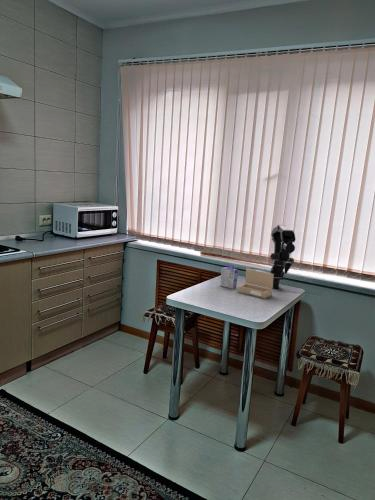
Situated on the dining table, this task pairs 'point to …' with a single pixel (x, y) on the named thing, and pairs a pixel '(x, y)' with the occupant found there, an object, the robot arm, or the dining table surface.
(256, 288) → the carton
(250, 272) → the flap
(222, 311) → the dining table surface
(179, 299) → the dining table surface
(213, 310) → the dining table surface
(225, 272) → the ink cartridge box
